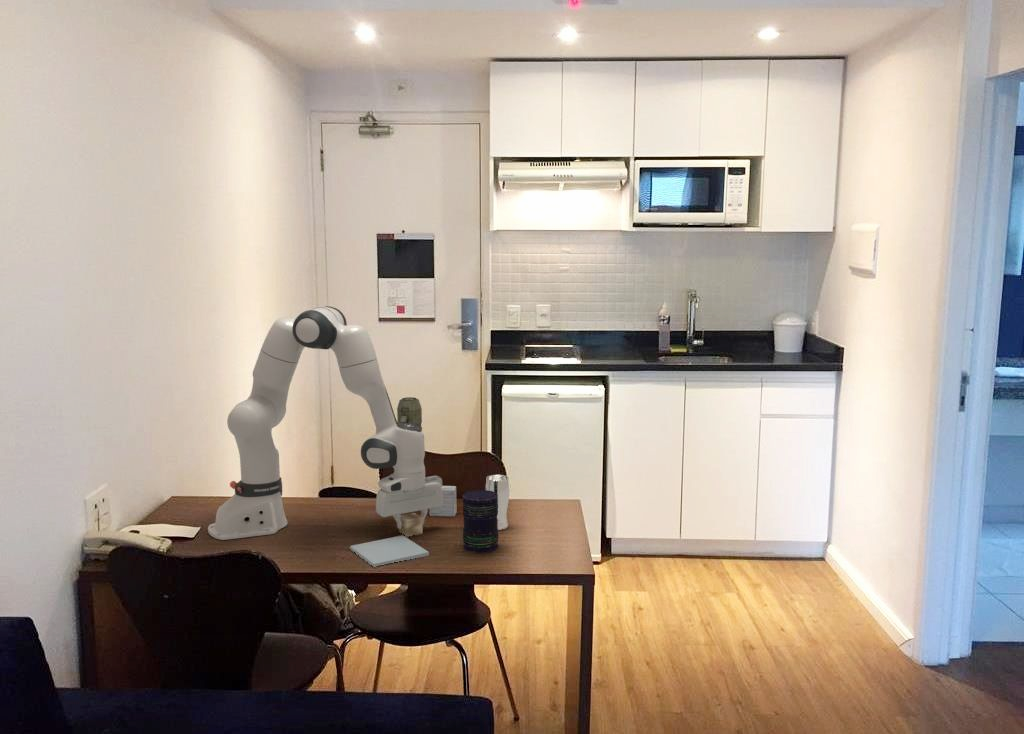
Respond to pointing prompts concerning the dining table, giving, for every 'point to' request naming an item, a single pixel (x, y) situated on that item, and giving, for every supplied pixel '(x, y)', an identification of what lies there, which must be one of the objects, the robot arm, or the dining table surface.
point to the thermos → (409, 411)
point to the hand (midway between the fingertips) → (410, 526)
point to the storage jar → (480, 521)
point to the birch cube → (411, 524)
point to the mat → (389, 550)
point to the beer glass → (500, 497)
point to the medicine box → (446, 503)
